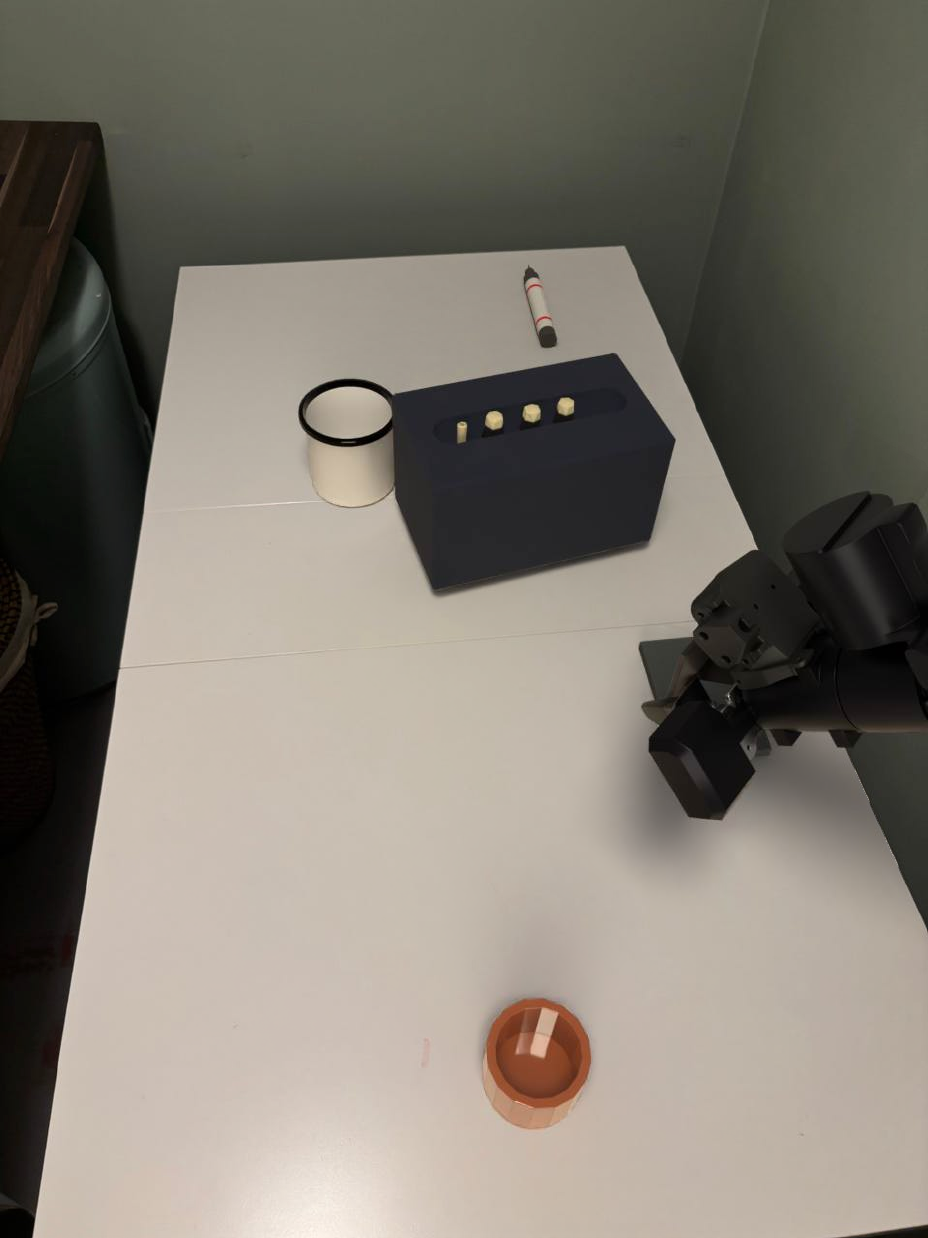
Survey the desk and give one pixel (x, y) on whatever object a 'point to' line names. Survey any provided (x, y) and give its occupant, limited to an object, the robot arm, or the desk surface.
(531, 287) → the marker
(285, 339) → the desk surface
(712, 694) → the mat
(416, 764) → the desk surface
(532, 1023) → the crock
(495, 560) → the speaker
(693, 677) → the spatula
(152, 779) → the desk surface
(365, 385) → the mug
